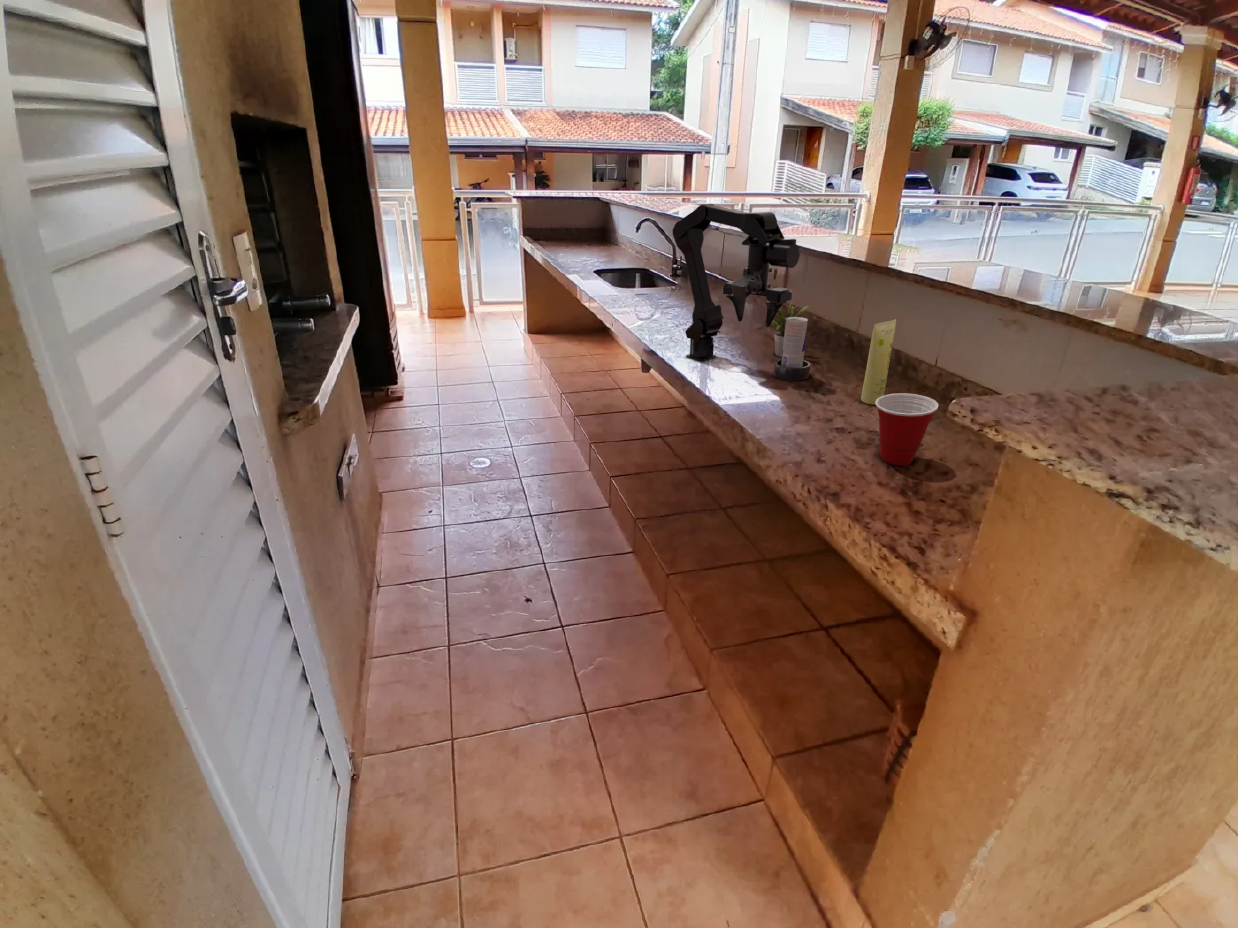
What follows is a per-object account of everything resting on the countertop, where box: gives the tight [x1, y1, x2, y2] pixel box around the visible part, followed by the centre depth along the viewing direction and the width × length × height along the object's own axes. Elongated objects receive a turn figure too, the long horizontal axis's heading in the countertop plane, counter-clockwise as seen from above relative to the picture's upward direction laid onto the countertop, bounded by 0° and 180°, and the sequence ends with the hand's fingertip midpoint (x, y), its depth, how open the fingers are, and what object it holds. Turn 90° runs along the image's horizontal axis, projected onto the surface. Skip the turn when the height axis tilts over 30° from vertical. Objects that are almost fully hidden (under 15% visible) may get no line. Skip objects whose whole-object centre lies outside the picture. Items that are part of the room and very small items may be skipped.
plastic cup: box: [875, 392, 940, 466], centre depth 117 cm, size 11×11×12 cm
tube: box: [860, 318, 897, 406], centre depth 144 cm, size 6×5×20 cm
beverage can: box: [781, 316, 809, 368], centre depth 164 cm, size 6×6×15 cm
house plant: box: [770, 300, 810, 358], centre depth 183 cm, size 14×14×16 cm
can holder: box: [773, 358, 812, 382], centre depth 167 cm, size 9×9×4 cm
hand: (753, 324), depth 167 cm, fingers open, 9 cm apart
